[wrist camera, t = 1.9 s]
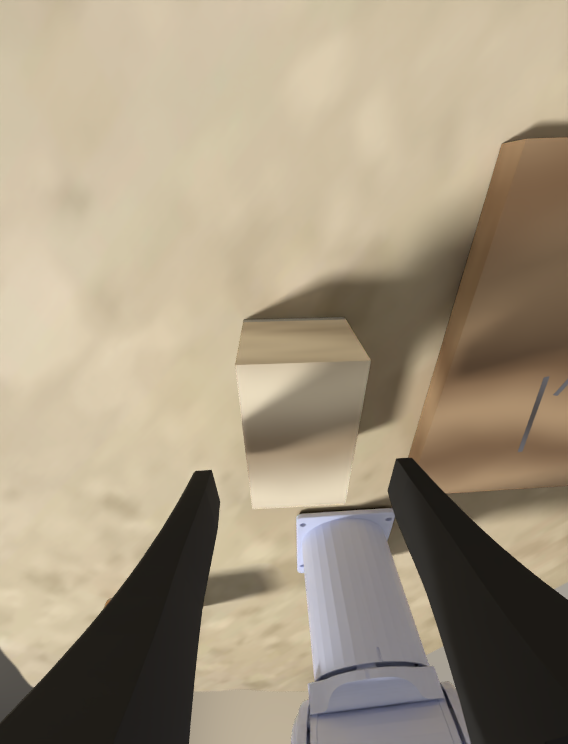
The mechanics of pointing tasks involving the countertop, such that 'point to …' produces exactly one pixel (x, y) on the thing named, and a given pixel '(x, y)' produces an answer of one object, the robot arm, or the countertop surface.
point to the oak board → (507, 337)
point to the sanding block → (300, 408)
